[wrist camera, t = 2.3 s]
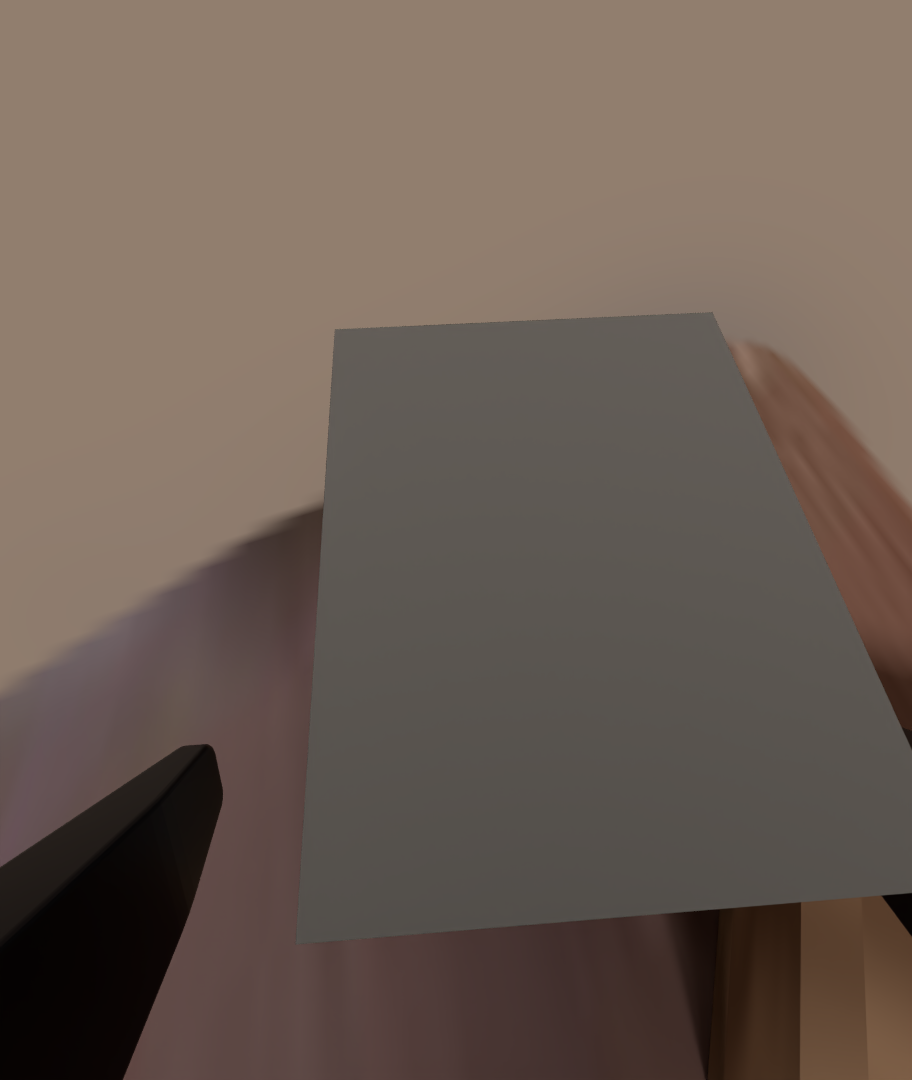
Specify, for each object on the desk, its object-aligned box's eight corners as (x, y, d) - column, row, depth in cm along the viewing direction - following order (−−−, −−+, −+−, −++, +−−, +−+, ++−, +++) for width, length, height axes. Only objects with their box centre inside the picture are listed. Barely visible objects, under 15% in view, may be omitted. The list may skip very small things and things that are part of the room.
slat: (556, 842, 14) (975, 886, 3) (425, 853, 14) (294, 944, 3) (533, 675, 16) (712, 311, 5) (419, 682, 16) (335, 329, 5)
